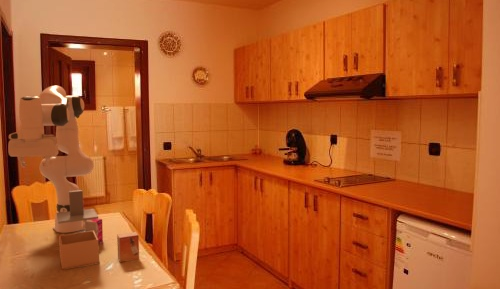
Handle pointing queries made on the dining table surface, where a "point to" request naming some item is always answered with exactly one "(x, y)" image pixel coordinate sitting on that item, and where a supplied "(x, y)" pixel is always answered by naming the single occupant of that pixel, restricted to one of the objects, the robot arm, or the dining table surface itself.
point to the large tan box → (78, 249)
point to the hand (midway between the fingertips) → (34, 166)
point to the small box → (128, 246)
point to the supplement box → (95, 228)
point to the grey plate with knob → (76, 209)
